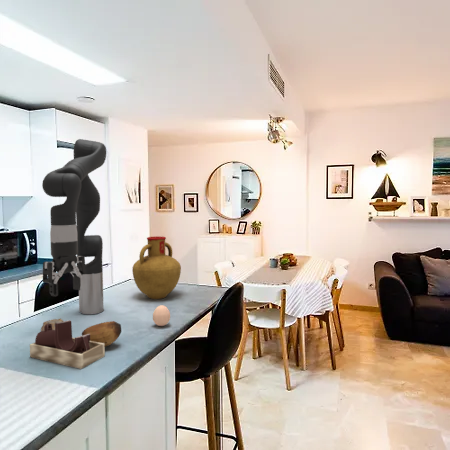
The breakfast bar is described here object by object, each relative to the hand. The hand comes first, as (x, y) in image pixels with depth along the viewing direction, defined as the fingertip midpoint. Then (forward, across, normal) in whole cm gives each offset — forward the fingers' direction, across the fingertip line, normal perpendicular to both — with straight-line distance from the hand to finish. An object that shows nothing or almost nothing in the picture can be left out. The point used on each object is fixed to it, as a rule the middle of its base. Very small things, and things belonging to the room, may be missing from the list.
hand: (65, 292), depth 113 cm
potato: (+20, -10, +4) cm, 23 cm away
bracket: (+19, -1, -1) cm, 19 cm away
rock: (+20, -14, -21) cm, 32 cm away
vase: (+20, -71, -15) cm, 76 cm away
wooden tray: (+20, 0, 0) cm, 20 cm away
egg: (+20, -35, +11) cm, 42 cm away
